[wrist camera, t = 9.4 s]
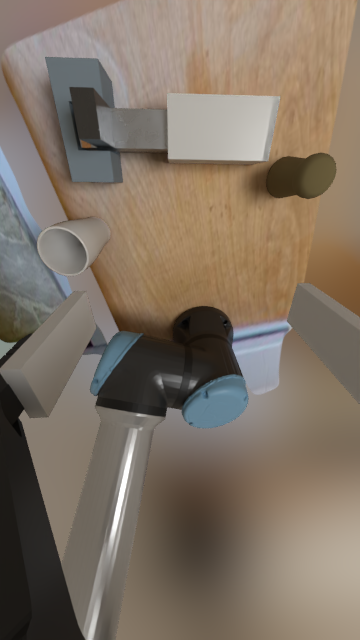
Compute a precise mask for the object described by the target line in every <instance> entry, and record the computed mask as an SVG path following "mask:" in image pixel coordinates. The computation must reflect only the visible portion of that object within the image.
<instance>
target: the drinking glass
mask: <svg viewBox="0 0 360 640" xmlns="http://www.w3.org/2000/svg"><path fill="white" fill-rule="evenodd" d="M109 239H110V229H109V227H108V225H107V224H106V222H105V221H103V220H102V219H100V218H98V217H88V218H84V219H77V220H69V221H64V222H60V223H57V224H54V225H52V226H50V227H48V228H46V229H44V230H43V231H42V232H41V233H40V235H39V237H38V240H37V249H38V253H39V255H40V257H41V259H42V261H43V262H44V263H45V264H46V265H47V266H48V267H49V268H50V269H51V270H53V271H54V272H56V273H58V274H61V275H64V276H76V275H79V274H80V273H82V272H83V271H85V270H86V269H87V268H88V267H89V266H91V264H92V263H93V262H94V261H95V260H96V258H97V257H98V255H99V254H100V252H101V251H102V249H103V248H104V246H105V245H106V244H107V243H108V241H109Z"/></svg>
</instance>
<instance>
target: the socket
mask: <svg viewBox="0 0 360 640" xmlns="http://www.w3.org/2000/svg"><path fill="white" fill-rule="evenodd" d="M45 59H46V64H47V68H48V73H49V78H50V82H51V87H52V91H53V96H54V100H55V105H56V109H57V114H58V118H59V123H60V127H61V132H62V136H63V141H64V146H65V150H66V155H67V159H68V164H69V168H70V173H71V177H72V182H123V178H122V169H121V161H120V152H115V151H89V150H87V149H84V148H82V147H81V144H80V139H79V137H78V131H77V126H76V121H75V115H74V110H73V105H72V100H71V94H70V89H69V87H90V88H94V89H95V90H96V91H97V93H98V94H99V95H100V96H101V97H102V99H103V100H104V101H105V102H106V103H107V105H108V106H109V107H110V108H115V107H114V98H113V89H112V81H111V80H110V78H109V76H108V75H107V73H106V71H105V70H104V68H103V67H102V65H101V63H100V62H99V60H98V59H92V58H61V57H45Z"/></svg>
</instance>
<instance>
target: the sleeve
mask: <svg viewBox="0 0 360 640" xmlns="http://www.w3.org/2000/svg"><path fill="white" fill-rule="evenodd" d="M279 101H280V96H248V95H212V94H177V93H167V117H168V161H169V163H187V164H240V165H253V164H257V163H262V162H266V161H268V159H269V153H270V148H271V143H272V138H273V133H274V127H275V122H276V117H277V112H278V107H279Z"/></svg>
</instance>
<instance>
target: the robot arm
mask: <svg viewBox="0 0 360 640" xmlns="http://www.w3.org/2000/svg"><path fill="white" fill-rule="evenodd" d="M287 322H288V323H289V324H290V325H291V326H292V327H293V329H294V330H295V331H296V332H297V333H298V334H299V336H300V337H301V338H302V339H303V340H304V341H305V342H306V344H307V345H308V346H309V347H310V348H311V349H312V350H313V352H314V353H315V354H316V355H317V356H318V357H319V358H320V360H321V361H322V362H323V363H324V364H325V365H326V367H327V368H328V369H329V370H330V371H331V372H332V373H333V374H334V376H335V377H336V378H337V379H338V380H339V382H340V383H341V384H342V385H343V386H344V387H345V388H346V390H347V391H348V392H349V393H350V394H351V395H352V396H353V398H354V399H355V400H356V401H357V402H358V403H360V317H358V316H357V315H356V314H354V313H352V312H351V311H350V310H348V309H347V308H345V307H344V306H342V305H341V304H339V303H338V302H337V301H335V300H334V299H332V298H331V297H329V296H328V295H326V294H325V293H323V292H322V291H320V290H319V289H317V288H316V287H315V286H313V285H311V284H310V283H299V284H297V287H296V291H295V294H294V298H293V301H292V305H291V308H290V312H289V315H288V319H287ZM95 330H96V324H95V321H94V318H93V314H92V310H91V306H90V303H89V300H88V296H87V292H86V291H74V292H73V293H72V294H71V295H70V296H69V297H68V298H67V299H66V300H65V301H64V302H63V303H62V304H61V305H60V306H59V307H58V308H57V309H56V310H55V311H54V312H53V313H52V315H51V316H50V317H49V318H48V319H47V320H46V321H45V322H44V323H43V324H42V325H41V326H40V327H39V328H38V329H37V330H36V331H35V332H34V333H33V334H29V335H27V336H26V337H24V338H22V339H21V340H19V341H18V342H17V343H16V344H15V345H14V346H13V347H12V349H10V350H9V351H8V352H7V353H6V355H4V356H3V357H2V358H1V359H0V640H115V639H116V633H117V628H118V622H119V616H120V612H121V606H122V601H123V595H124V590H125V584H126V579H127V573H128V567H129V563H130V557H131V551H132V546H133V540H134V535H135V530H136V524H137V519H138V513H139V508H140V502H141V497H142V492H143V486H144V481H145V475H146V470H147V465H148V459H149V453H150V448H151V442H152V437H153V432H154V429H155V427H156V426H157V425H158V424H159V423H161V422H162V421H163V420H165V416H166V411H167V407H169V408H175V409H180V410H182V415H183V417H184V419H185V421H186V422H188V423H189V425H191V426H193V427H197V428H213V427H218V426H222V425H224V424H226V423H229V422H231V421H233V420H234V419H236V418H237V417H239V416H240V415H241V414H242V413H243V411H244V410H245V408H246V407H247V404H248V394H247V389H246V386H245V384H246V383H245V380H244V378H243V375H242V373H241V370H240V367H239V365H238V362H237V359H236V357H235V354H234V352H233V349H232V342H233V327H232V324H231V322H230V320H229V318H228V317H227V315H226V314H225V313H223V312H222V311H220V310H219V309H216V308H213V307H207V306H202V307H196V308H192V309H190V310H188V311H186V312H184V313H183V314H182V315H181V316H180V317H179V318H178V319H177V320H176V322H175V324H174V327H173V341H169V340H164V339H160V338H156V337H152V336H148V335H144V334H143V333H140V334H139V333H134V332H128V331H120V332H118V333H116V334H115V335H114V336H113V338H112V339H111V340H110V342H109V344H108V345H107V347H106V349H105V351H104V353H103V355H102V358H101V360H100V362H99V364H98V367H97V369H96V372H95V375H94V378H93V381H92V383H91V387H90V392H91V393H92V394H93V395H94V396H97V395H98V399H97V402H96V405H95V408H96V410H97V412H98V414H99V416H100V418H101V424H100V427H99V431H98V434H97V438H96V441H95V445H94V449H93V452H92V456H91V459H90V463H89V467H88V470H87V474H86V477H85V481H84V485H83V488H82V492H81V496H80V499H79V503H78V506H77V510H76V513H75V517H74V521H73V524H72V528H71V532H70V535H69V539H68V542H67V546H66V549H65V553H64V557H63V560H62V564H61V562H60V558H59V555H58V551H57V548H56V544H55V540H54V537H53V533H52V530H51V526H50V523H49V519H48V515H47V512H46V508H45V505H44V501H43V498H42V494H41V490H40V487H39V483H38V479H37V476H36V472H35V469H34V465H33V462H32V458H31V454H30V451H29V447H28V444H27V440H26V437H25V433H24V429H23V426H22V422H21V421H20V420H19V418H18V417H19V416H20V414H21V413H22V411H23V410H25V411H26V413H27V414H28V416H29V417H30V418H40V417H49V415H50V413H51V411H52V410H53V408H54V406H55V404H56V402H57V400H58V398H59V397H60V395H61V393H62V391H63V389H64V387H65V386H66V383H67V382H68V380H69V378H70V376H71V374H72V373H73V371H74V369H75V367H76V365H77V363H78V361H79V360H80V358H81V356H82V354H83V352H84V350H85V349H86V347H87V345H88V343H89V341H90V339H91V338H92V336H93V334H94V332H95Z"/></svg>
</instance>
